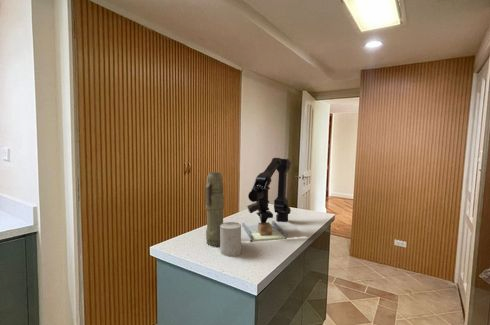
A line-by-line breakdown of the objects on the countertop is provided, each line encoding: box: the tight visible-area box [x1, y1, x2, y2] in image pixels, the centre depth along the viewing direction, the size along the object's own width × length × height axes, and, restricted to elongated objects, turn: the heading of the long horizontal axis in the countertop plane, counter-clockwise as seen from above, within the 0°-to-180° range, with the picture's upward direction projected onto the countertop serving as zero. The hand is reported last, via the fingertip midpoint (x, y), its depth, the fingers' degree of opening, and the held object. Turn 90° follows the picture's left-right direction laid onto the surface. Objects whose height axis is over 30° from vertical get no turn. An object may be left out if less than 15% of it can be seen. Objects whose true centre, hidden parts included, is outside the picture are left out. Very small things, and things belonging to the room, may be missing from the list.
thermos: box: [205, 171, 225, 247], centre depth 131 cm, size 9×12×35 cm
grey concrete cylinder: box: [219, 221, 242, 257], centre depth 121 cm, size 10×10×12 cm
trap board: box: [241, 220, 288, 243], centre depth 146 cm, size 22×19×3 cm
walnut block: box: [257, 221, 273, 236], centre depth 142 cm, size 6×6×5 cm
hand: (262, 226), depth 147 cm, fingers closed
